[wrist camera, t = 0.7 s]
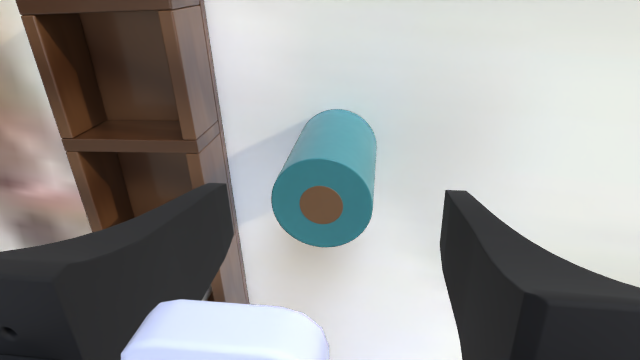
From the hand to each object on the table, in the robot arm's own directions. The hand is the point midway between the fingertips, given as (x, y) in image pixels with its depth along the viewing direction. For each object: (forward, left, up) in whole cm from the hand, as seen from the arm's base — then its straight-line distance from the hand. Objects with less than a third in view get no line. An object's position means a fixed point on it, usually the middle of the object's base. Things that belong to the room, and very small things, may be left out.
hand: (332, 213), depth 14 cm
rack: (-3, +11, -10) cm, 15 cm away
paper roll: (-1, +1, -10) cm, 10 cm away
